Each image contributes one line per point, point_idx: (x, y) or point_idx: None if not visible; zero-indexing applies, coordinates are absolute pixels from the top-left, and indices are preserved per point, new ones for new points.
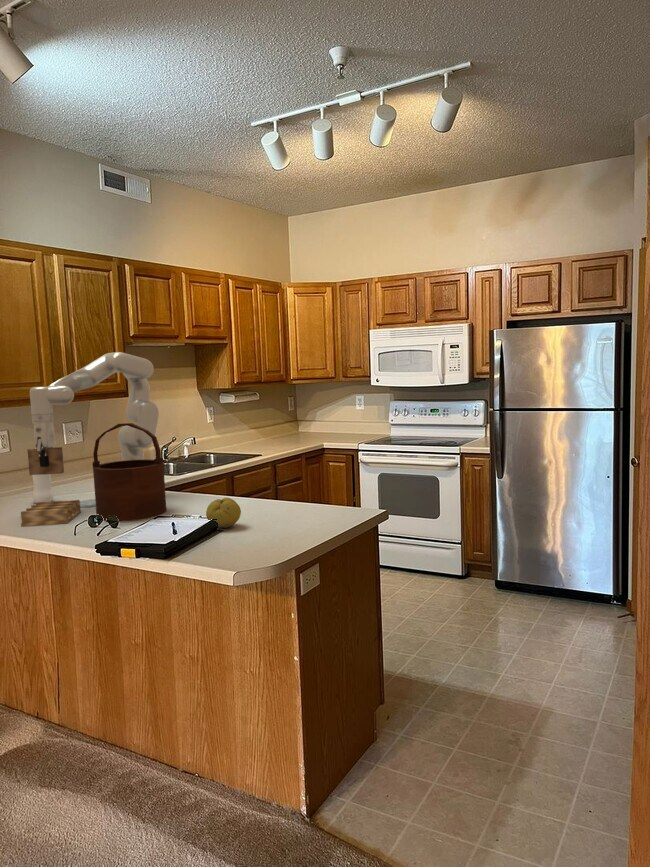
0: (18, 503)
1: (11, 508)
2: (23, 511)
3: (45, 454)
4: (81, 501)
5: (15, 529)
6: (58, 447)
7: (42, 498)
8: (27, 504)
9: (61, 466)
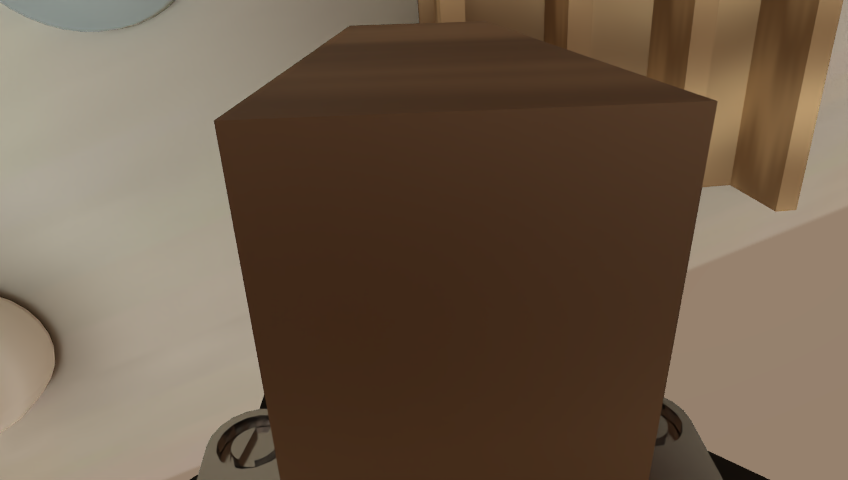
0: (51, 470)
1: (197, 447)
2: (790, 195)
3: (693, 441)
4: (28, 2)
5: (818, 178)
6: (337, 289)
7: (29, 346)
8: (79, 409)
9: (467, 29)
